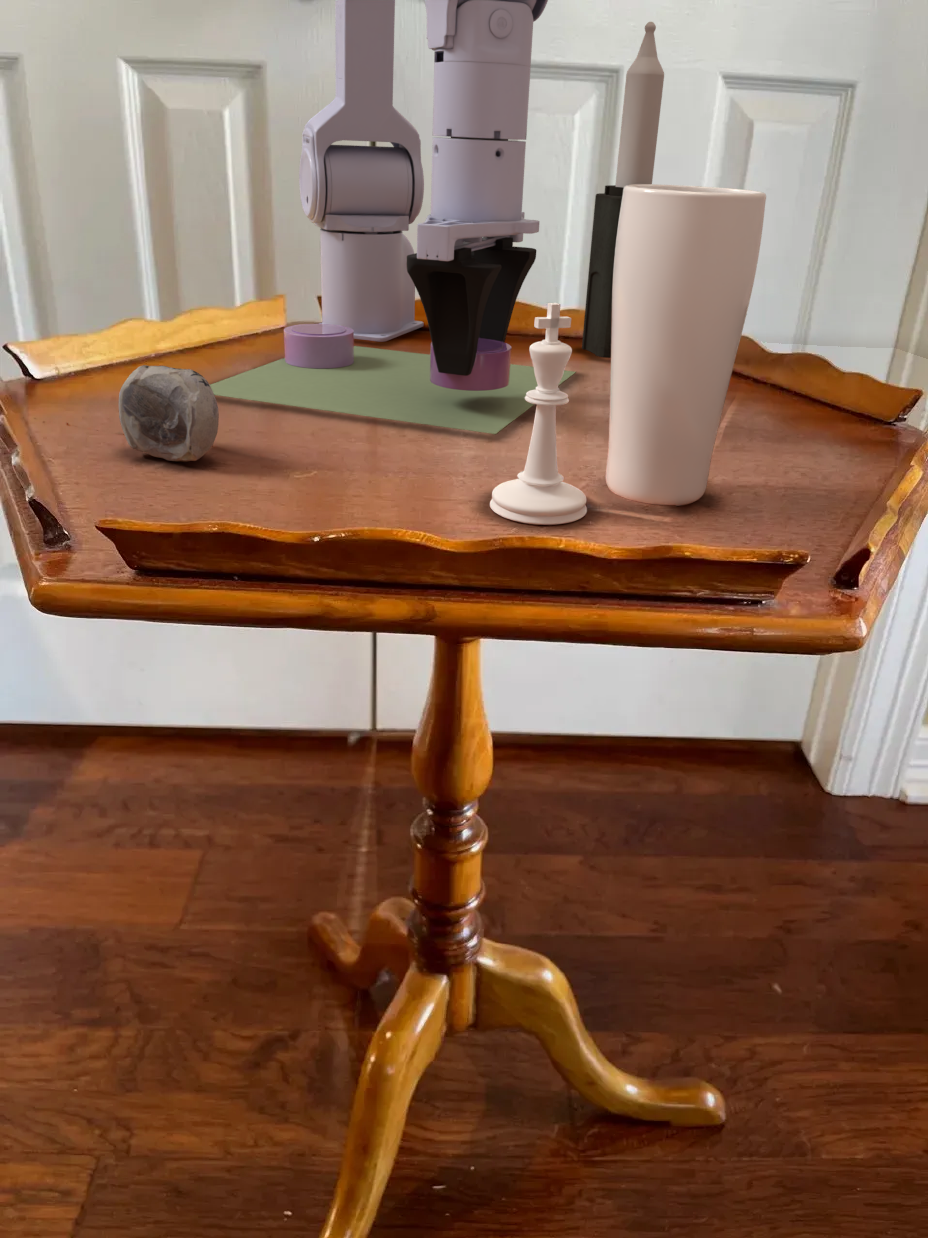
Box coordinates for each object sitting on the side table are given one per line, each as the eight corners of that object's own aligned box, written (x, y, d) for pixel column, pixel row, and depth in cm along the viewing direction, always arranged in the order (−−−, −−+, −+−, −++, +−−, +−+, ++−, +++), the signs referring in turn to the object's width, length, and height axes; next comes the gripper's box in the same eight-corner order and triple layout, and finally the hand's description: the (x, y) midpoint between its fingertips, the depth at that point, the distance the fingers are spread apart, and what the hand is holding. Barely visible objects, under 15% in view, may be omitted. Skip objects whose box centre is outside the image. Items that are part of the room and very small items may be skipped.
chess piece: (604, 519, 49) (627, 311, 45) (513, 529, 47) (528, 313, 43) (559, 488, 53) (576, 294, 49) (474, 496, 51) (484, 296, 47)
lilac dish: (305, 351, 81) (304, 320, 80) (365, 358, 79) (365, 327, 78) (271, 363, 76) (270, 330, 75) (334, 371, 75) (334, 338, 74)
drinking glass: (580, 472, 56) (608, 181, 49) (698, 474, 56) (741, 187, 50) (604, 514, 50) (640, 189, 43) (735, 516, 50) (790, 196, 44)
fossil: (107, 455, 55) (96, 364, 53) (146, 440, 58) (137, 353, 56) (204, 472, 53) (197, 379, 51) (240, 456, 56) (234, 367, 54)
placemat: (326, 345, 85) (326, 342, 85) (575, 375, 78) (576, 371, 78) (191, 395, 68) (191, 391, 68) (495, 438, 61) (495, 433, 61)
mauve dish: (446, 369, 70) (447, 333, 69) (519, 377, 68) (522, 341, 67) (417, 384, 65) (417, 346, 64) (494, 394, 64) (496, 355, 63)
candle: (577, 348, 88) (606, 21, 77) (629, 347, 89) (665, 26, 78) (601, 361, 84) (635, 15, 73) (655, 359, 85) (697, 21, 74)
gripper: (504, 141, 53) (491, 394, 59) (573, 142, 65) (556, 352, 71) (384, 135, 55) (383, 380, 61) (472, 138, 67) (464, 341, 73)
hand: (469, 364), depth 66 cm, fingers closed on mauve dish, 5 cm apart
